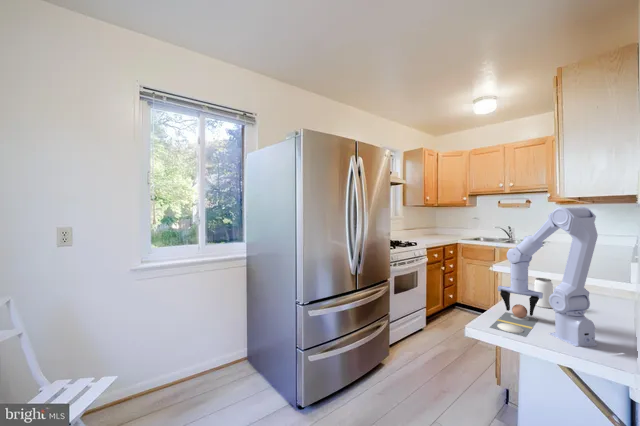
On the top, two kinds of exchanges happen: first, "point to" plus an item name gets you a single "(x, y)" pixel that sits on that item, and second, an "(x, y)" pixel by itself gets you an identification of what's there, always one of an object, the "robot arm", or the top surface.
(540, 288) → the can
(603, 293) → the top surface
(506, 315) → the mat
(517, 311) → the ball
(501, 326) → the white disc
